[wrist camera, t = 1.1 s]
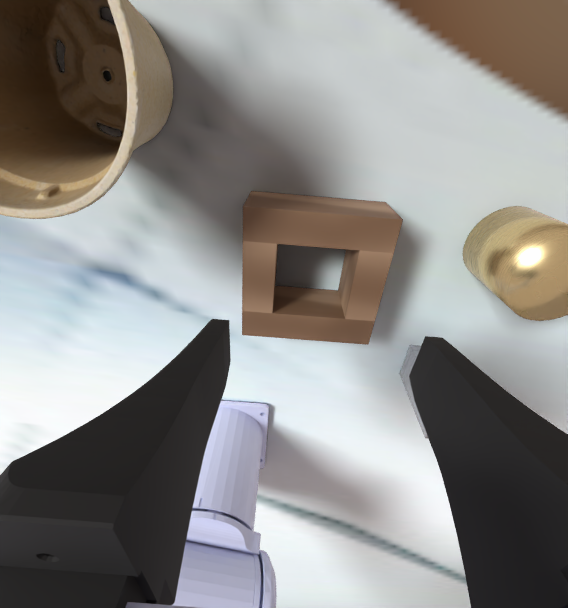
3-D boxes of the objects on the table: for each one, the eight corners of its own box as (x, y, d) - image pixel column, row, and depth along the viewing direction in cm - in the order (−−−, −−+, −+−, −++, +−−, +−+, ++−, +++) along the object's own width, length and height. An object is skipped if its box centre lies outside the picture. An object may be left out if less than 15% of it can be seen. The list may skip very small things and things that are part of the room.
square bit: (435, 376, 26) (469, 441, 21) (399, 373, 26) (425, 438, 21) (448, 347, 24) (488, 411, 19) (409, 345, 24) (440, 407, 19)
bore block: (358, 314, 23) (368, 344, 20) (248, 305, 23) (242, 334, 20) (385, 202, 19) (402, 219, 16) (251, 190, 19) (243, 206, 16)
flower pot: (181, -76, 13) (35, -315, 6) (223, 168, 18) (175, 208, 11) (-29, -44, 14) (-402, -223, 6) (67, 182, 19) (-80, 230, 11)
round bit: (522, 281, 21) (579, 324, 17) (451, 275, 21) (491, 317, 17) (560, 209, 19) (638, 238, 14) (480, 202, 19) (535, 230, 14)
